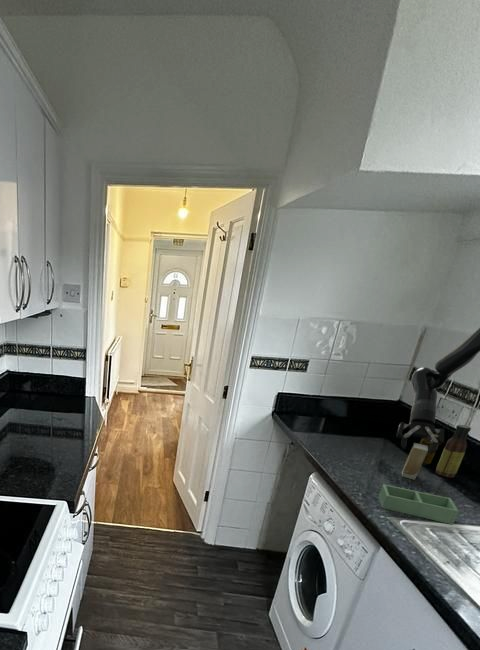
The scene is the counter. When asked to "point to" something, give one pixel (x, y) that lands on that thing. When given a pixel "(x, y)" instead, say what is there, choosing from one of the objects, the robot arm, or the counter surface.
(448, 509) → the holder
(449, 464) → the sauce bottle
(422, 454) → the cosmetic box
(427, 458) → the condiment
